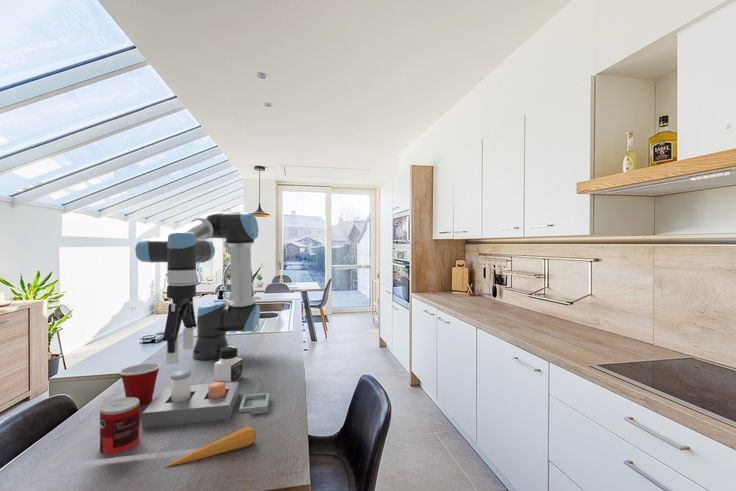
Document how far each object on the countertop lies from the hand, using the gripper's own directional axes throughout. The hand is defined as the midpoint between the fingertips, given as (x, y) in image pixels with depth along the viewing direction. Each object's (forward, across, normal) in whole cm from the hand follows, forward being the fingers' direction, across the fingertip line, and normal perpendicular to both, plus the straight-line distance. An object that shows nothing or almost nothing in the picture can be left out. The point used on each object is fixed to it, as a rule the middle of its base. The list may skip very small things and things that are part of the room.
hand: (180, 355), depth 97 cm
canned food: (+18, +14, -9) cm, 25 cm away
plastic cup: (+18, -8, -14) cm, 24 cm away
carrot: (+18, +21, +14) cm, 31 cm away
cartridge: (+16, 0, 0) cm, 16 cm away
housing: (+17, 0, +4) cm, 18 cm away
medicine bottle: (+17, -24, +9) cm, 31 cm away
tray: (+17, 0, +21) cm, 27 cm away
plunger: (+16, 0, +10) cm, 19 cm away
